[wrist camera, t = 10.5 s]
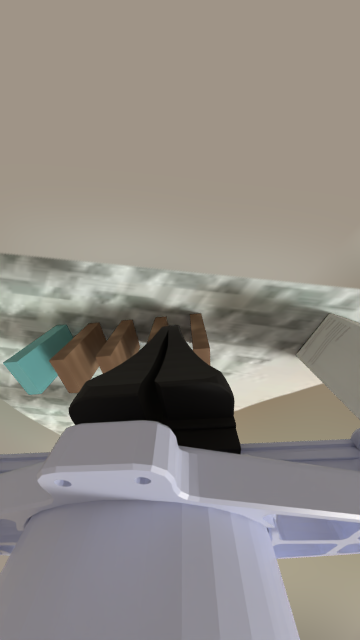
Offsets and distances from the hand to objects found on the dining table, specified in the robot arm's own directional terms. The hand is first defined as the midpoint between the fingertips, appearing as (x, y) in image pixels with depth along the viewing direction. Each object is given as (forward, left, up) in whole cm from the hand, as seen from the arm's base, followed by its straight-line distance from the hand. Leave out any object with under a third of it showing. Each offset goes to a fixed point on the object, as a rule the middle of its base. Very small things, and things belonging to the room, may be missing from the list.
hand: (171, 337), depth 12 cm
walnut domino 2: (-7, +6, -10) cm, 14 cm away
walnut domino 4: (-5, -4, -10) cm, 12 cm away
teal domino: (-10, +16, -10) cm, 21 cm away
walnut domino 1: (-9, +11, -10) cm, 17 cm away
